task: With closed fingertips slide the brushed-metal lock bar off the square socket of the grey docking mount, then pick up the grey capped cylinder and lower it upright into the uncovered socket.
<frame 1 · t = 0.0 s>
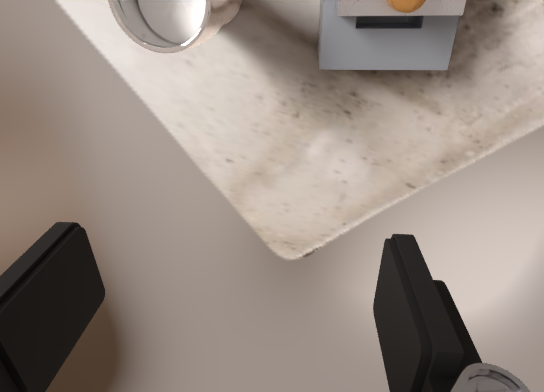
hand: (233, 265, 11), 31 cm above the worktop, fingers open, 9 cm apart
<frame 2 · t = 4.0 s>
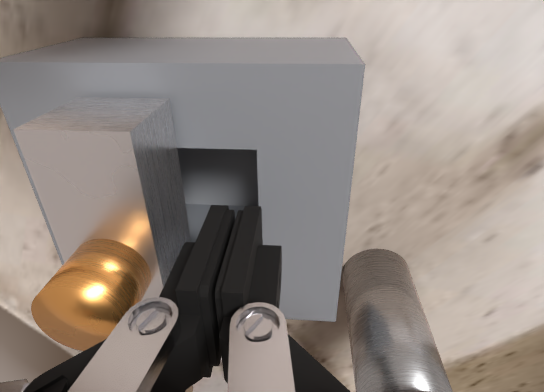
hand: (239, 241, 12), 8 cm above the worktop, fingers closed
grey capped cylinder: (374, 274, 23), on the worktop
mount: (220, 151, 19), on the worktop
lock bar: (119, 259, 12), point 9 cm above the worktop, slide at 1.5 cm, touching gripper
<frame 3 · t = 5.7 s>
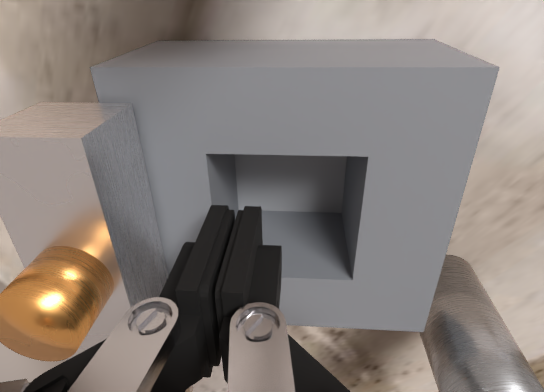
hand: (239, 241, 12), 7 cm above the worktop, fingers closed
grey capped cylinder: (438, 280, 22), on the worktop
mount: (290, 156, 19), on the worktop
lock bar: (83, 266, 12), point 9 cm above the worktop, slide at 6.3 cm
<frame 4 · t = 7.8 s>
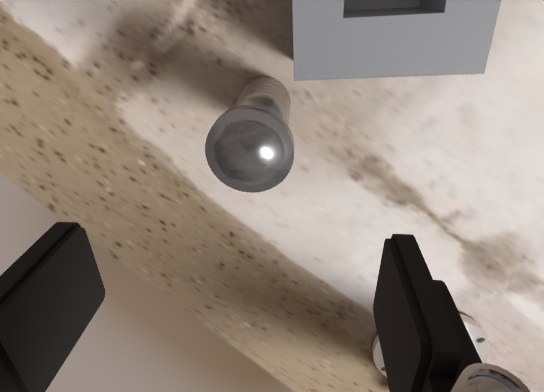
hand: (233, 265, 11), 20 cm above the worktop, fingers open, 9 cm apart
grey capped cylinder: (265, 102, 29), on the worktop
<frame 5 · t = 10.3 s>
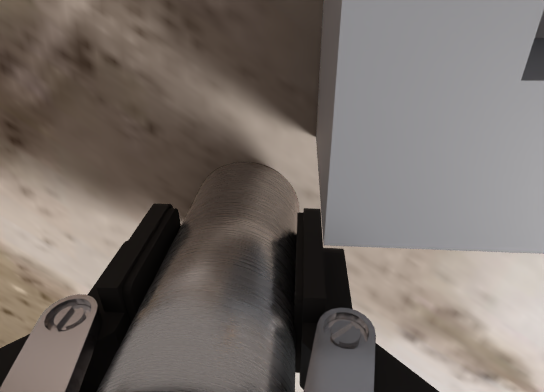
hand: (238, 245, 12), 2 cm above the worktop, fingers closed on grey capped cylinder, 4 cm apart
grey capped cylinder: (248, 208, 14), on the worktop, touching gripper
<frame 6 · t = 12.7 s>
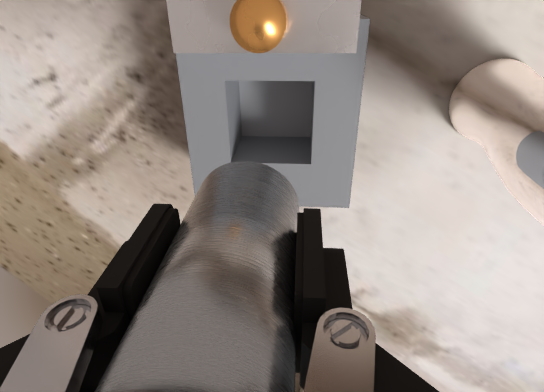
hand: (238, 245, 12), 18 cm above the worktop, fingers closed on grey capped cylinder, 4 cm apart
grey capped cylinder: (248, 207, 14), point 16 cm above the worktop, touching gripper
mount: (276, 98, 28), on the worktop
beer glass: (490, 100, 27), on the worktop
lock bar: (263, 18, 18), point 9 cm above the worktop, slide at 6.3 cm
when the fingers open (6 cm above the worktop, at t = 15.1 s): grey capped cylinder drops 3 cm, resting on mount.
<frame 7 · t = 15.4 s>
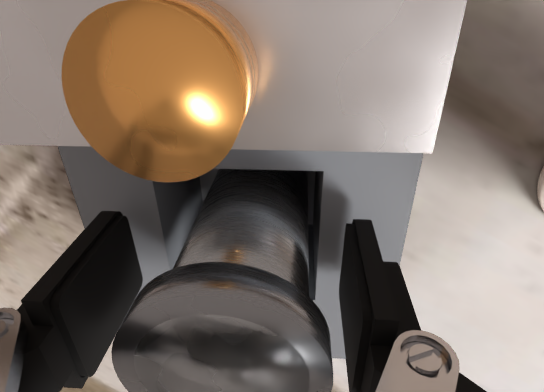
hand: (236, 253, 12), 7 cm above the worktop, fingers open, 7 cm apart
grey capped cylinder: (264, 175, 17), point 1 cm above the worktop, touching mount
mount: (258, 164, 18), on the worktop
lock bar: (199, 65, 7), point 9 cm above the worktop, slide at 6.3 cm
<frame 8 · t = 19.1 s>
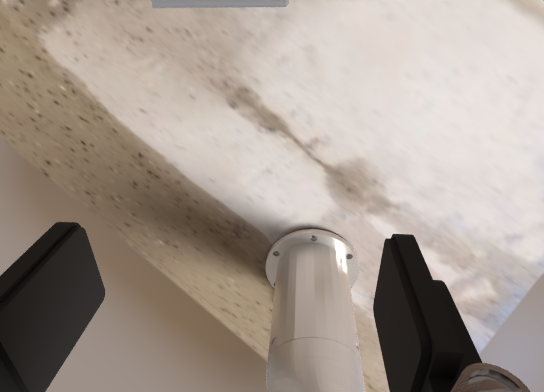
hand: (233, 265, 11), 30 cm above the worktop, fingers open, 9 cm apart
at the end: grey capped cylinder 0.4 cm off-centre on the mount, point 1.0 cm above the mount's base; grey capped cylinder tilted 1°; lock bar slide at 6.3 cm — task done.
